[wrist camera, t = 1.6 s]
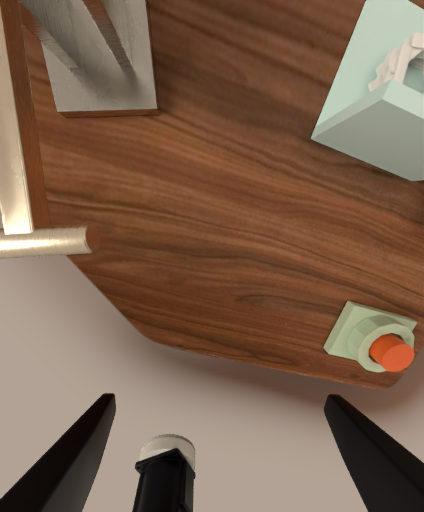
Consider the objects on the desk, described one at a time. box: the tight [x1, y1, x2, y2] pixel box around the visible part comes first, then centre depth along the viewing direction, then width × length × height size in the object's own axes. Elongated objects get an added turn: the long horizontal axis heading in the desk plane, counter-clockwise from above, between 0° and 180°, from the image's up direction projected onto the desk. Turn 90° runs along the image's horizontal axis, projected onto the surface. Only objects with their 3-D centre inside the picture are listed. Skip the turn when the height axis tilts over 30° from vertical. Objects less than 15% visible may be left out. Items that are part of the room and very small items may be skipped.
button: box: [369, 334, 414, 372], centre depth 22 cm, size 4×4×2 cm
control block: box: [323, 301, 417, 372], centre depth 24 cm, size 9×7×3 cm
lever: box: [0, 0, 101, 259], centre depth 7 cm, size 16×5×2 cm, turn 3°
